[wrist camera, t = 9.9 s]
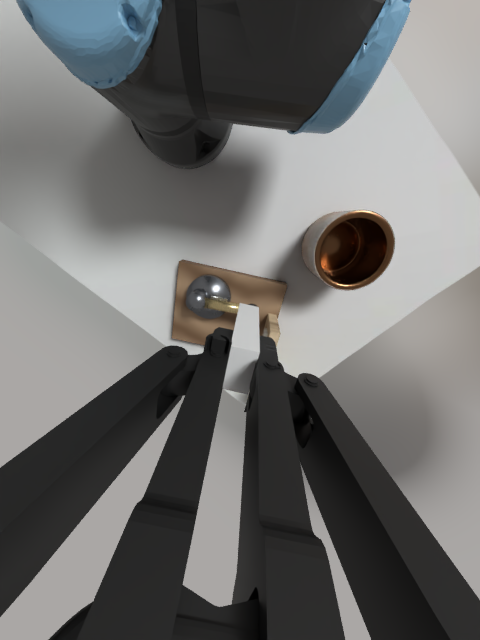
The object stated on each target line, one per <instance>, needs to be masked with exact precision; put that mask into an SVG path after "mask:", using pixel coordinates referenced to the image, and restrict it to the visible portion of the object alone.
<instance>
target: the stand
mask: <svg viewBox="0 0 480 640" xmlns="http://www.w3.org/2000/svg"><path fill="white" fill-rule="evenodd" d="M205 274H212V275H216V276H218V277H220V278H222V279H223V280H224V281H225V282H226V283H227V284H228V286H229V288H230V291H231V302H234V303H239V304H240V303H242V304H247V305H248V304H251V303H252V304H255V305H257V306H258V307H259V335H261V336H266V337H270V338H272V339H273V340H274V341H275V343H276V346H277V343H278V340H279V336H280V329H279V325H278V320H277V319H278V315H279V312H280V309H281V305H282V302H283V299H284V295H285V292H286V289H287V283H285V282H281V281H276V280H272V279H267V278H263V277H258V276H253V275H249V274H244V273H240V272H235V271H231V270H226V269H222V268H217V267H213V266H208V265H204V264H199V263H195V262H190V261H186V260H181V261H179V267H178V278H177V289H176V299H175V310H174V321H173V331H172V338H173V339H178V340H183V341H187V342H192V343H197V344H201V345H205V341H206V336H207V335H209V334H212V333H213V332H214V330H215V329H216V328H218V327H221V328H226V329H231V330H234V327H235V322H236V318H237V314H235V313H230V312H225V313H224V314H223V315H221V316H220V317H217V318H214V319H206V318H202V317H200V316H198V315H196V314H195V313H194V312H193V311H191V310H189V309H188V307H187V306H186V293H187V289H188V287H189V285H190V284H191V283H192V282H193V281H194V280H195V279H196V278H197V277H199V276H201V275H205Z"/></svg>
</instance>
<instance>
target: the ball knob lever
mask: <svg viewBox="0 0 480 640" xmlns="http://www.w3.org/2000/svg"><path fill="white" fill-rule="evenodd" d="M248 305H251V306H256V307H258V306H257V305H255V304H252V303H251V304H248ZM186 306H187V307H188V309H189V310H191V311H193V312H194V313H195V314H196V315H198V316H200V317H202V318H206V319H214V318H217V317H220V316H221V315H223V314H224V313H225V312H230V313H235V314H237V313H238V309H239V303H234V302H231V291H230V288H229V286H228V284H227V283H226V282H225V281H224V280H223V279H222V278H220V277H218V276H216V275H212V274H205V275H201V276H199V277H197V278H196V279H195V280H194V281H193V282H192V283H191V284H190V285H189V287H188V289H187V293H186Z"/></svg>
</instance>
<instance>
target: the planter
mask: <svg viewBox="0 0 480 640" xmlns="http://www.w3.org/2000/svg"><path fill="white" fill-rule="evenodd" d="M394 249H395V237H394V233H393V230H392V227H391V226H390V224H389V223H388V221H387V220H386V219H385V218H384V217H382V216H381V215H379V214H378V213H376V212H373V211H369V210H353V211H341V212H333V213H329V214H326V215H324V216H322V217H321V218H319V219H318V220H316V221H315V222H314V223H313V224H312V225H311V226H310V228H309V229H308V230H307V232H306V234H305V236H304V239H303V242H302V257H303V260H304V263H305V265H306V266H307V268H308V269H309V270H310V271H311V272H312V273H313V274H315V275H316V276H317V277H318V278H320V279H321V280H322V281H323V282H324V283H325V284H327V285H328V286H330V287H332V288H335V289H338V290H356V289H359V288H362V287H365V286H367V285H369V284H371V283H372V282H374V281H375V280H376V279H377V278H379V277H380V276H381V275H382V274H383V272H384V271H385V270H386V268H387V267H388V265H389V264H390V262H391V259H392V257H393V253H394Z"/></svg>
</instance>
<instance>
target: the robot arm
mask: <svg viewBox="0 0 480 640" xmlns="http://www.w3.org/2000/svg"><path fill="white" fill-rule="evenodd" d="M16 2H17V4H18V6H19V7H20V9H21V11H22V13H23V15H24V16H25V18H26V20H27V21H28V22H29V24H30V25H31V27H32V29H33V30H34V31H35V32H36V34H37V35H38V36H39V38H40V39H41V40H42V42H43V43H44V44H45V45H46V46H47V47H48V48H49V49H50V50H51V51H52V52H53V53H54V54H55V55H56V56H57V57H58V58H59V59H60V60H61V61H62V62H63V63H64V64H65V66H66V67H67V68H68V70H69V71H70V72H71V73H72V74H73V75H74V76H76V77H77V78H78V79H79V80H81V81H82V82H84V83H86V84H87V85H90V86H91V87H92V88H93V89H95V90H96V91H97V92H98V93H100V94H101V95H102V96H103V97H104V98H106V99H107V100H108V101H109V102H111V103H112V104H113V105H114V106H116V107H117V108H118V109H119V110H120V111H122V112H123V113H124V114H125V115H127V116H128V117H129V118H130V119H131V121H132V123H133V126H134V128H135V130H136V132H137V134H138V135H139V137H140V138H141V140H142V141H143V143H144V144H145V145H146V146H147V147H148V149H149V150H150V151H151V152H152V153H154V154H155V155H156V156H157V157H159V158H160V159H162V160H163V161H165V162H166V163H168V164H170V165H173V166H175V167H179V168H196V167H200V166H202V165H205V164H206V163H208V162H210V161H211V160H212V159H214V158H215V157H216V156H217V155H218V154H219V152H220V151H221V150H222V149H223V147H224V145H225V144H226V142H227V140H228V138H229V135H230V132H231V129H232V125H233V124H240V125H248V126H256V127H264V128H272V129H280V130H287V132H288V133H289V134H298V133H301V132H306V133H320V134H325V133H329V132H332V131H333V130H335V129H336V128H339V127H340V126H342V125H343V124H344V123H345V122H346V121H347V120H348V119H349V118H350V117H351V116H352V115H353V114H354V112H355V111H356V110H357V109H358V107H359V106H360V105H361V103H362V102H363V100H364V99H365V97H366V96H367V94H368V93H369V91H370V89H371V88H372V86H373V85H374V83H375V81H376V79H377V78H378V76H379V74H380V72H381V71H382V69H383V67H384V65H385V63H386V61H387V59H388V58H389V56H390V54H391V52H392V50H393V48H394V46H395V44H396V42H397V39H398V37H399V35H400V33H401V31H402V28H403V27H404V24H405V22H406V20H407V17H408V15H409V12H410V8H409V4H410V2H411V0H16ZM222 389H226V390H230V391H235V392H240V393H244V394H248V392H249V389H250V393H249V397H248V400H247V404H246V407H245V411H244V412H246V411H247V414H246V431H245V447H244V465H243V481H242V498H241V515H240V531H239V548H238V564H237V574H236V580H235V586H234V592H233V600H232V605H228V606H223V607H217V606H214V605H212V604H211V603H209V602H208V601H206V600H205V599H203V598H202V597H200V596H199V595H197V594H196V593H194V592H193V591H191V590H190V589H188V588H186V587H185V586H183V585H182V584H183V579H184V574H185V569H186V564H187V559H188V555H189V550H190V545H191V540H192V535H193V530H194V525H195V520H196V515H197V509H198V504H199V499H200V495H201V490H202V485H203V480H204V475H205V470H206V466H207V461H208V456H209V451H210V446H211V441H212V437H213V432H214V427H215V422H216V417H217V412H218V407H219V403H220V398H221V393H222ZM183 395H185V398H184V400H183V403H182V405H181V407H180V410H179V412H178V415H177V417H176V420H175V422H174V425H173V427H172V429H171V432H170V434H169V437H168V439H167V441H166V444H165V446H164V449H163V451H162V454H161V456H160V458H159V461H158V463H157V466H156V468H155V471H154V473H153V475H152V478H151V480H150V483H149V485H148V488H147V490H146V492H145V494H144V497H143V498H142V500H141V501H140V502H138V503H137V505H136V506H135V508H134V509H133V511H132V514H131V516H130V518H129V520H128V522H127V524H126V527H125V529H124V531H123V534H122V536H121V539H120V541H119V543H118V545H117V548H116V550H115V552H114V555H113V557H112V559H111V561H110V564H109V567H108V568H107V571H106V574H105V576H104V578H103V580H102V582H101V585H100V587H99V589H98V592H97V594H96V596H95V599H94V601H93V602H92V603H90V604H89V605H87V606H86V607H84V608H83V609H81V610H80V611H79V612H78V613H77V614H75V615H74V616H73V617H72V618H71V619H69V620H68V621H67V622H66V623H65V624H64V625H63V626H62V627H61V628H60V629H59V630H58V631H57V632H56V633H55V634H54V635H53V636H52V637H51V638H50V639H49V640H345V636H344V631H343V626H342V622H341V617H340V612H339V608H338V603H337V598H336V593H335V589H334V584H333V579H332V575H331V569H330V565H329V560H328V556H327V553H326V549H325V547H324V545H323V543H322V541H321V539H319V538H318V537H316V536H315V535H314V533H313V531H312V527H311V522H310V516H309V511H308V505H307V499H306V494H305V488H304V483H303V477H302V471H301V465H302V468H303V470H304V473H305V475H306V478H307V480H308V483H309V485H310V488H311V490H312V493H313V495H314V497H315V500H316V502H317V505H318V507H319V510H320V513H321V515H322V518H323V520H324V522H325V525H326V528H327V530H328V533H329V535H330V538H331V540H332V543H333V545H334V548H335V550H336V552H337V555H338V558H339V560H340V562H341V565H342V567H343V570H344V572H345V575H346V577H347V580H348V582H349V585H350V587H351V590H352V592H353V595H354V597H355V600H356V602H357V605H358V607H359V610H360V612H361V615H362V617H363V620H364V622H365V625H366V627H367V630H368V632H369V635H370V637H371V640H480V600H479V598H478V597H477V596H476V594H475V593H474V592H473V590H472V589H471V587H470V586H469V585H468V583H467V582H466V580H465V579H464V578H463V576H462V575H461V573H460V572H459V571H458V569H457V568H456V567H455V565H454V564H453V562H452V561H451V560H450V558H449V557H448V555H447V554H446V553H445V551H444V550H443V548H442V547H441V546H440V544H439V543H438V541H437V540H436V539H435V537H434V536H433V535H432V533H431V532H430V530H429V529H428V528H427V526H426V525H425V524H424V522H423V521H422V519H421V518H420V516H419V515H418V514H417V512H416V511H415V510H414V508H413V507H412V505H411V504H410V503H409V501H408V500H407V498H406V497H405V496H404V495H403V493H402V491H401V490H400V489H399V487H398V486H397V484H396V483H395V482H394V480H393V479H392V477H391V476H390V475H389V473H388V472H387V471H386V469H385V468H384V466H383V465H382V464H381V462H380V461H379V459H378V458H377V457H376V455H375V454H374V452H373V451H372V450H371V448H370V447H369V446H368V444H367V443H366V442H365V440H364V439H363V437H362V436H361V434H360V433H359V432H358V430H357V429H356V428H355V426H354V425H353V423H352V422H351V420H350V419H349V418H348V416H347V415H346V414H345V412H344V411H343V409H342V408H341V407H340V405H339V404H338V403H337V401H336V400H335V398H334V397H333V395H332V394H331V393H330V391H329V390H328V388H327V387H326V386H325V384H324V383H323V382H322V381H321V380H320V379H319V378H318V377H316V376H314V375H312V374H308V373H301V374H300V375H299V376H298V378H296V377H293V376H291V375H289V374H287V373H285V372H284V369H283V366H282V364H281V363H280V362H278V356H277V350H276V343H275V341H274V340H273V339H272V338H270V337H266V336H261V335H259V307H256V306H251V305H247V304H242V303H240V304H239V309H238V313H237V318H236V322H235V327H234V330H231V329H226V328H221V327H218V328H216V329H215V330H214V332H213V333H212V334H209V335H207V336H206V341H205V347H204V352H203V353H202V354H198V355H188V353H187V351H186V350H185V349H184V348H182V347H179V346H167V347H164V348H162V349H161V350H160V351H158V352H157V353H155V354H154V355H153V356H151V357H150V358H149V359H147V360H146V361H145V362H143V363H142V364H141V365H139V366H138V367H136V368H135V369H134V370H132V371H131V372H130V373H128V374H127V375H126V376H124V377H123V378H122V379H120V380H119V381H117V382H116V383H115V384H113V385H112V386H111V387H109V388H108V389H107V390H106V391H104V392H103V393H101V394H100V395H98V396H97V397H96V398H94V399H93V400H92V401H90V402H89V403H88V404H86V405H85V406H84V407H82V408H81V409H79V410H78V411H77V412H75V413H74V414H73V415H71V416H70V417H69V418H67V419H66V420H65V421H63V422H62V423H61V424H59V425H58V426H56V427H55V428H54V429H52V430H51V431H50V432H48V433H47V434H46V435H44V436H43V437H42V438H40V439H39V440H37V441H36V442H35V443H33V444H32V445H31V446H29V447H28V448H27V449H25V450H24V451H22V452H21V453H20V454H18V455H17V456H16V457H14V458H13V459H12V460H10V461H9V462H8V463H6V464H5V465H4V466H2V467H1V468H0V617H1V615H2V614H3V613H4V612H5V611H6V610H7V609H8V608H9V606H10V605H11V604H12V603H13V602H14V601H15V599H16V598H17V597H18V596H19V595H20V594H21V593H22V591H23V590H24V589H25V588H26V587H27V586H28V585H29V583H30V582H31V581H32V580H33V578H34V577H35V576H36V575H37V574H38V572H39V571H40V570H41V569H42V567H43V566H44V565H45V564H46V563H47V561H48V560H49V559H50V558H51V557H52V555H53V554H54V553H55V552H56V551H57V549H58V548H59V547H60V546H61V544H62V543H63V542H64V541H65V539H66V538H67V537H68V536H69V535H70V533H71V532H72V531H73V530H74V529H75V527H76V526H77V525H78V524H79V523H80V521H81V520H82V519H83V518H84V516H85V515H86V514H87V513H88V512H89V510H90V509H91V508H92V507H93V506H94V504H95V503H96V502H97V501H98V499H99V498H100V497H101V496H102V495H103V493H104V492H105V491H106V490H107V488H108V487H109V486H110V485H111V484H112V482H113V481H114V480H115V479H116V478H117V476H118V475H119V474H120V473H121V471H122V470H123V469H124V468H125V467H126V465H127V464H128V463H129V462H130V461H131V459H132V458H133V457H134V456H135V454H136V453H137V452H138V451H139V450H140V448H141V447H142V446H143V445H144V443H145V442H146V441H147V440H148V438H149V437H150V436H151V435H152V434H153V433H154V431H155V430H156V429H157V428H158V426H159V425H160V424H161V423H162V422H163V420H164V419H165V418H166V417H167V415H168V414H169V413H170V412H171V411H172V409H173V408H174V407H175V406H176V404H177V403H178V402H179V401H180V400H181V398H182V396H183ZM311 418H312V419H311ZM300 463H301V465H300Z"/></svg>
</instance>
